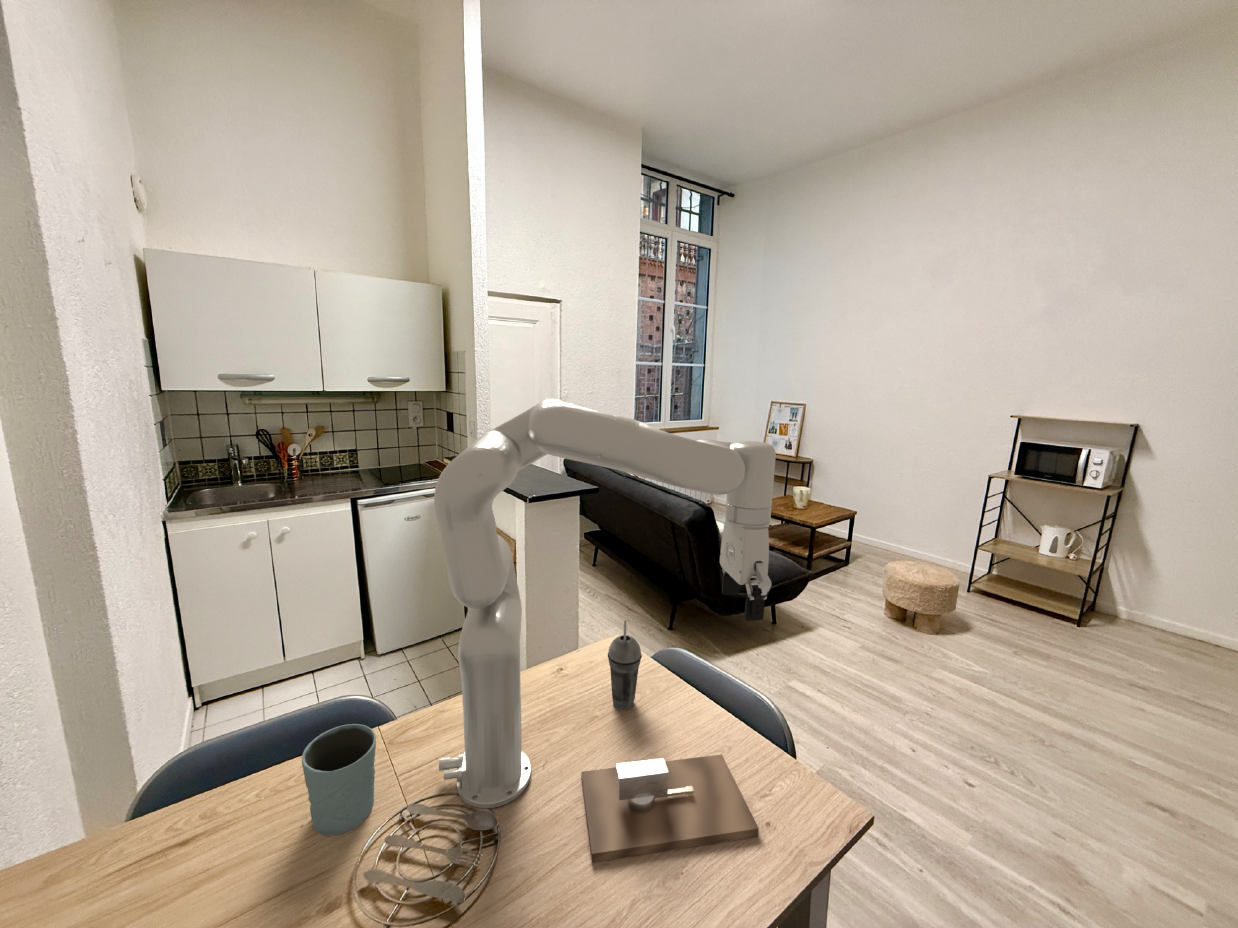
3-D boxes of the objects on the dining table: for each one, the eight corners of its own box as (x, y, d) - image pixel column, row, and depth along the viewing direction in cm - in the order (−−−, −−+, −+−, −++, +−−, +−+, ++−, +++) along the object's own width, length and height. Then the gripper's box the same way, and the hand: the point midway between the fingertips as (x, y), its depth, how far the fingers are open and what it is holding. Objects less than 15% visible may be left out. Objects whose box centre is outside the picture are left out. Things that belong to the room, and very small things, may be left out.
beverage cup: (641, 693, 108) (643, 610, 105) (639, 716, 101) (642, 628, 98) (608, 691, 109) (610, 608, 105) (604, 713, 102) (606, 625, 98)
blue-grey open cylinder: (317, 793, 81) (311, 730, 79) (384, 778, 84) (379, 717, 82) (300, 849, 72) (292, 779, 69) (376, 829, 75) (371, 762, 73)
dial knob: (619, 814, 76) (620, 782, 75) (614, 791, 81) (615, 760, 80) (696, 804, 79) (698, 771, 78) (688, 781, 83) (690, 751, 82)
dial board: (591, 862, 71) (591, 852, 70) (581, 777, 86) (581, 768, 85) (758, 836, 75) (758, 827, 75) (720, 759, 90) (721, 751, 90)
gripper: (709, 501, 91) (704, 586, 94) (750, 530, 74) (742, 633, 77) (746, 500, 92) (740, 584, 96) (794, 528, 76) (785, 629, 79)
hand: (741, 606), depth 87 cm, fingers open, 9 cm apart
